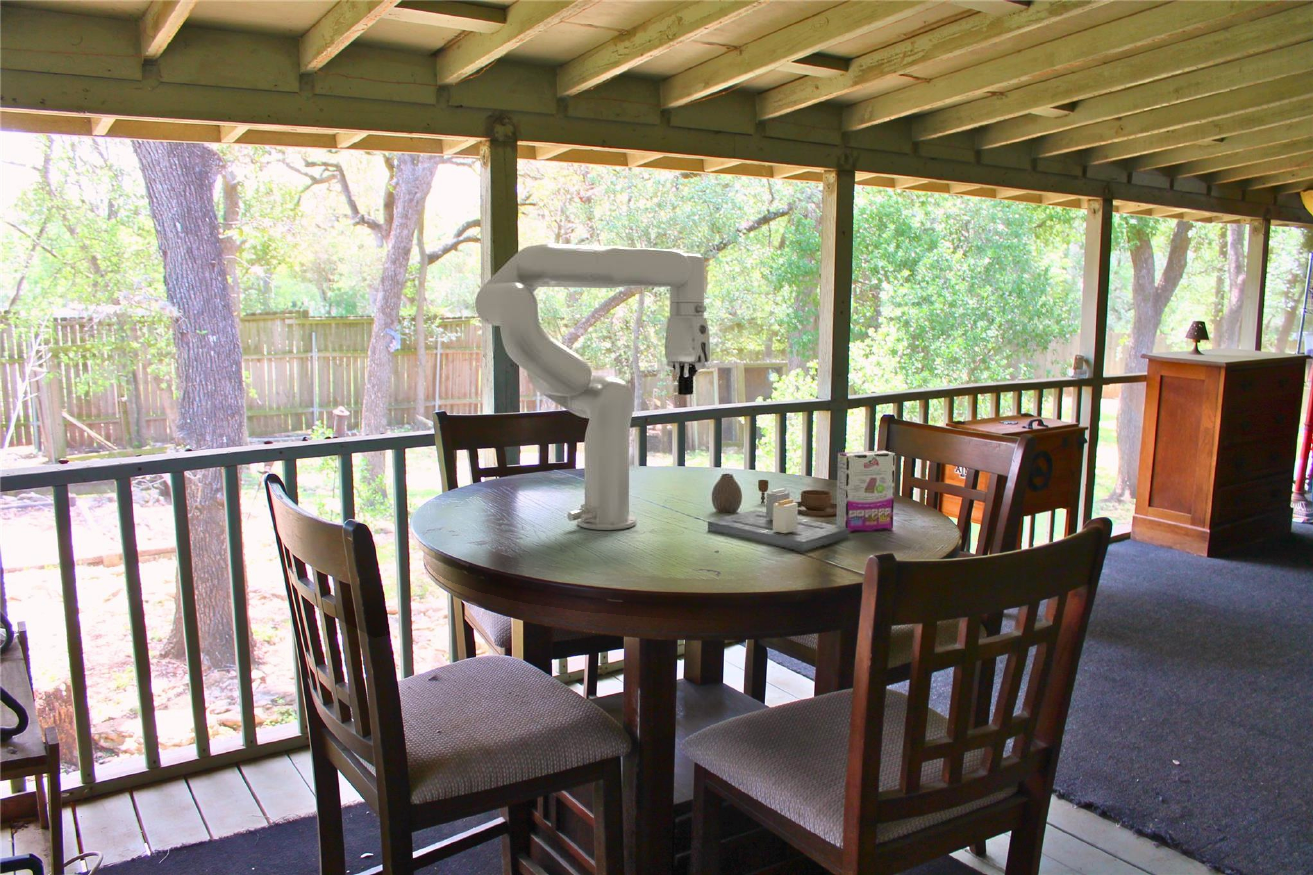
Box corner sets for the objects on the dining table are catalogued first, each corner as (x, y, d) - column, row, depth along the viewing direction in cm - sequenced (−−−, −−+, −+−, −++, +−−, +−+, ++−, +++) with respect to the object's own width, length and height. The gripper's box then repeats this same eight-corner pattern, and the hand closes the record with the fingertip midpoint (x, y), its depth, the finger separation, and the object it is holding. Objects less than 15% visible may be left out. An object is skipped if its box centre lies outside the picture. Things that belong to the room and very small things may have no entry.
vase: (739, 516, 204) (740, 477, 203) (709, 514, 205) (710, 476, 204) (743, 509, 211) (743, 472, 209) (713, 508, 212) (714, 471, 211)
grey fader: (777, 520, 189) (778, 491, 188) (765, 518, 191) (766, 490, 190) (789, 517, 192) (789, 489, 191) (777, 515, 194) (778, 487, 193)
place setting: (794, 521, 201) (795, 495, 201) (752, 504, 220) (753, 480, 219) (861, 515, 208) (862, 490, 207) (815, 499, 226) (816, 475, 225)
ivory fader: (784, 533, 178) (785, 503, 177) (772, 530, 180) (773, 500, 179) (797, 529, 181) (798, 500, 180) (784, 527, 183) (785, 497, 182)
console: (803, 551, 173) (803, 541, 173) (707, 530, 190) (707, 520, 189) (848, 537, 185) (849, 527, 184) (755, 518, 201) (755, 509, 201)
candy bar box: (881, 525, 196) (884, 449, 194) (893, 530, 191) (896, 453, 189) (834, 527, 193) (837, 451, 191) (845, 533, 188) (848, 455, 186)
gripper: (723, 311, 198) (722, 395, 200) (673, 311, 208) (673, 391, 210) (700, 311, 192) (699, 397, 195) (650, 311, 203) (650, 393, 205)
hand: (685, 394), depth 203 cm, fingers closed
